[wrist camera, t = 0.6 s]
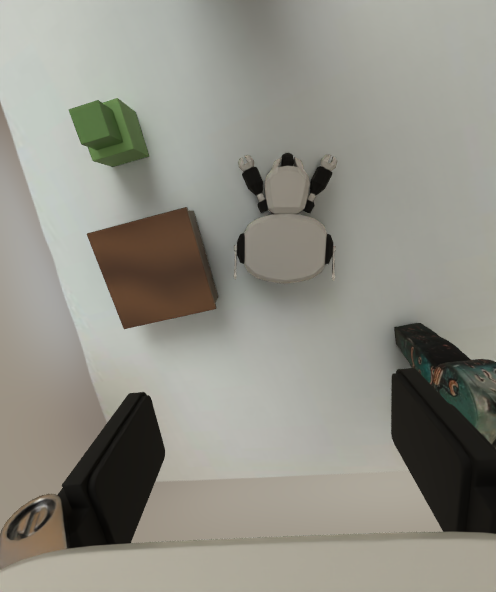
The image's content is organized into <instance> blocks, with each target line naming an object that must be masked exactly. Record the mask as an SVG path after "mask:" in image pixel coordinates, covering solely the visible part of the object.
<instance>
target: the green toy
mask: <svg viewBox="0 0 496 592" xmlns="http://www.w3.org/2000/svg"><path fill="white" fill-rule="evenodd" d="M69 112H70V115H71V117H72V120H73V123H74V126H75V128H76V131H77V134H78V137H79V139H80V142H81V144H82V145H84V146H87V147H88V149H89V152H90V155H91V157H92V160H93V161H94V162H98V163H101V164H104V165H108V166H111V167H115V166H118V165H121V164H125V163H128V162H131V161H135V160H138V159H142V158H145V157H148V156H149V154H148V151H147V147H146V144H145V141H144V138H143V135H142V131H141V128H140V125H139V122H138V119H137V115H136V112H135V111H133V110H132V109H131V108H130V107H128V106H127V105H126V104H124V103H123V102H122V101H121V100H119V99H118V98H116V99H113V100H110V101H107V102H104V103H102V102H100V101H99V100H97V101H94V102H91V103H87V104H84V105H81V106H78V107H75V108H72V109H69Z"/></svg>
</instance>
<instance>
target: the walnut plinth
mask: <svg viewBox="0 0 496 592" xmlns="http://www.w3.org/2000/svg"><path fill="white" fill-rule="evenodd" d="M87 236H88V239H89V241H90V244H91V246H92V249H93V251H94V254H95V256H96V259H97V262H98V264H99V267H100V269H101V272H102V274H103V277H104V279H105V282H106V285H107V287H108V290H109V292H110V295H111V297H112V300H113V302H114V305H115V307H116V310H117V313H118V315H119V318H120V320H121V323H122V325H123V328H124V329H127V328H132V327H136V326H141V325H145V324H150V323H154V322H159V321H163V320H168V319H173V318H177V317H182V316H186V315H191V314H195V313H200V312H204V311H209V310H213V309H216V304H215V302H216V301H217V299H218V294H217V290H216V287H215V283H214V280H213V276H212V273H211V269H210V266H209V262H208V259H207V255H206V252H205V248H204V245H203V241H202V238H201V234H200V231H199V227H198V224H197V220H196V217H195V213H194V211H188V208H187V207H185V208H181V209H177V210H173V211H170V212H166V213H162V214H158V215H155V216H151V217H147V218H144V219H140V220H136V221H132V222H129V223H125V224H121V225H117V226H114V227H110V228H106V229H102V230H99V231H95V232H91V233H88V234H87Z"/></svg>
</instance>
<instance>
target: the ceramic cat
mask: <svg viewBox="0 0 496 592" xmlns="http://www.w3.org/2000/svg"><path fill="white" fill-rule="evenodd" d="M394 328H395V337H396V344H397V346H398V347H399V348H400V350H401V351H402V353H403V354H404V356H405V357H406V359H407V360H408V361H409V363H410V365H411V367H412V368H415V369H416V370H417V371H418V372H419V373H420V374H421V375H422V376H423V377H424V378H425V379H426V380H427V381H428V382H429V383H430V384H431V385H432V386H433V387H434V388H435V389H436V391H437V392H438V393H439V394H440V395H441V396H442V397H443V398H444V399H445V400H446V401H447V402H448V403H449V404H452V405H453V406H455V407H456V408H457V409H458V410H459V411H460V412H461V413H462V414H463V415H464V416H465V417H466V418H467V420H468V421H469V422H470V423H471V424H472V425H473V426H474V427H475V428H476V429H477V430H478V431H479V432H480V433H481V434H482V435H483V436H484V437H485V438H486V439H487V440H488V441H489V442H490V443H491V444H492V445H493V446H494V447H495V448H496V362H494V361H491V360H485V359H476V360H471V359H469V358H468V357H467V356H466V355H465V354H464V353H462V352H461V351H460V350H459V349H458V348H457V347H456V346H455V345H453V344H452V343H450V342H449V341H447V340H445V339H443V338H441V337H440V336H438V335H437V334H436V333H435V332H433V331H432V330H431V329H429V328H427V327H426V326H424V325H422V324H421V323H416V324H410V325H405V326H400V327H394Z"/></svg>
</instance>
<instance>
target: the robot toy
mask: <svg viewBox="0 0 496 592" xmlns="http://www.w3.org/2000/svg"><path fill="white" fill-rule="evenodd" d="M330 156H331V155H325V156H324V157H323V158H322V159H321V166H319V167H317V169H316V171H315V173H314V175H313V177H312V179H311V181H309V177H308V174H307V173H306V172H305V171H304V168H303V164H302V161H301V160H299V159H297V158H295V157H294V160H293V155H292V154H290V153H285V154H283V155H282V160H281V158H279V159H277V160H275V161H274V164H273V167H272V169H271V171H270V172H269V174H268V175H267V177H266V180H265V196H266V199H265V198H264V196H263V193H262V191H263V181H262V178H261V176H260V174H259V171H258V169H257V167H254V160H253V159H252V157H251V156H249V155H246V156H245V158H246V160H247V162H248V163H246V164H244V162H243V158H240V159H239V161H238V164H239V168H240V169H241V170H242V171H243V174H242V176H243V178H244V180H245V183H246V185H247V187H248V189H249V190H250V191H251V192H252V193H254V194H255V195H256V196H257V198H258V200H259V203H258V208H259V210H260V212H261V213H263V212H265V211H267V210H268V211H270V212H271V213H272V214H273V215H267V216H264V217H261V218H258V219H256V220H254V221H253V222H251V223H250V224H249V225H248V226H247V228H246V230H245V232H244V233H243V234H240V236H239V239H238V241H237V245H234V251H235V268H234V278H235V279H236V258H237V256H238V258H239V260H240V263H243V264H244V265H245V267H246V269H247V271H248V272H249V273H250V274H251V275H253V276H254V277H256V278H259V279H262V280H265V281H270V282H276V283H281V284H286V283H294V282H301V281H305V280H308V279H311V278H314V277H315V276H317V275H318V274H320V273H321V272H322V270H323V268H324V266H325V265H326V264H329V262H330V260H331V257H332V279H333V281H334V279H335V251H336V246H333V241H332V238H331V235H329V234H327V232H326V230H325V227H324V225H323V224H321V223H320V222H319V221H317V220H316V219H313V218H311V217H307V216H304V215H298V213H299V212H301V211H302V210H303V211H305V212H307V213H311V211H312V209H313V207H314V203H313V200H314V198H315V196H316V195H318V194H319V193H320V192H321V191H323V190H324V189H325V188H326V186H327V184H328V182H329V180H330V178H331V176H332V172H331V171H332V170H333V169H334V168H336V164H337V160H336V158H335V157H333V158H332V161H331V163H328V162H327V161H328V159H329V158H330ZM280 162H281V167H279V164H280ZM293 165H294V167H293ZM309 185H310V194H309V196H308V192H309ZM307 197H308V198H307Z"/></svg>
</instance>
